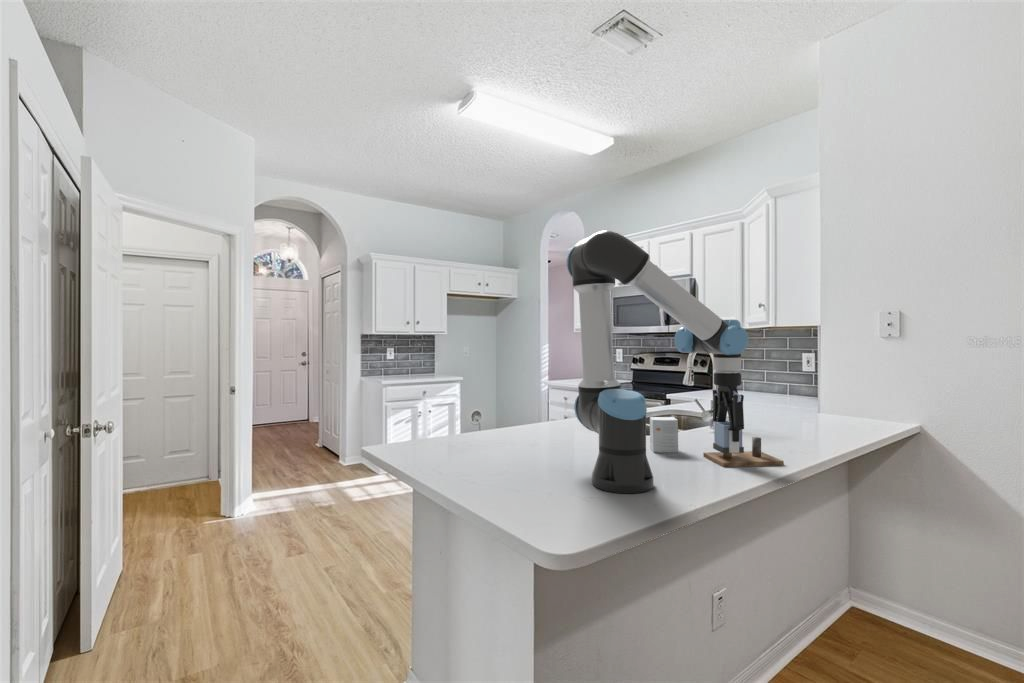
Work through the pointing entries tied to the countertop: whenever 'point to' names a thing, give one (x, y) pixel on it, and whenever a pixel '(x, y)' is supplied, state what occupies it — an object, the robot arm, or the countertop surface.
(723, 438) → the sleeve
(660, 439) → the small box
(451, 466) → the countertop surface
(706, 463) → the countertop surface
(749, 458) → the pin board
